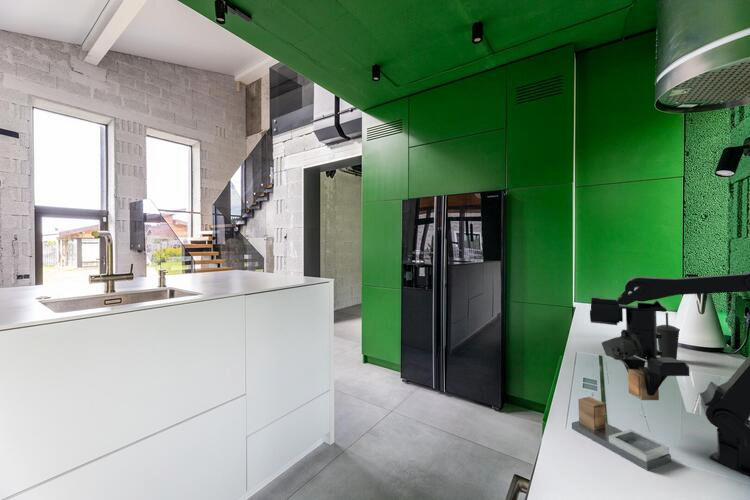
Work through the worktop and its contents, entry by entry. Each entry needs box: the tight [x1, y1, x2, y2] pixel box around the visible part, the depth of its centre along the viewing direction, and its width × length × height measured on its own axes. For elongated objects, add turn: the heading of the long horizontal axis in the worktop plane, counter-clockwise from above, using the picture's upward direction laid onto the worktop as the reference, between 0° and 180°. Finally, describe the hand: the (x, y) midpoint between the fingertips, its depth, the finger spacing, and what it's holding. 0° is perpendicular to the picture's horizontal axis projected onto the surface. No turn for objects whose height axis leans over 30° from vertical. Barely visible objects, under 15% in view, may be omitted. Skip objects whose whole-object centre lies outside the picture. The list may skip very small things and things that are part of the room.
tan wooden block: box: [627, 369, 660, 401], centre depth 77 cm, size 4×4×6 cm
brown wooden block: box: [578, 396, 606, 430], centre depth 80 cm, size 4×4×6 cm
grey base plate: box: [571, 420, 672, 471], centre depth 75 cm, size 8×17×3 cm, turn 20°
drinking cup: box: [657, 312, 681, 360], centre depth 131 cm, size 8×8×20 cm
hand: (643, 391), depth 77 cm, fingers closed on tan wooden block, 4 cm apart
